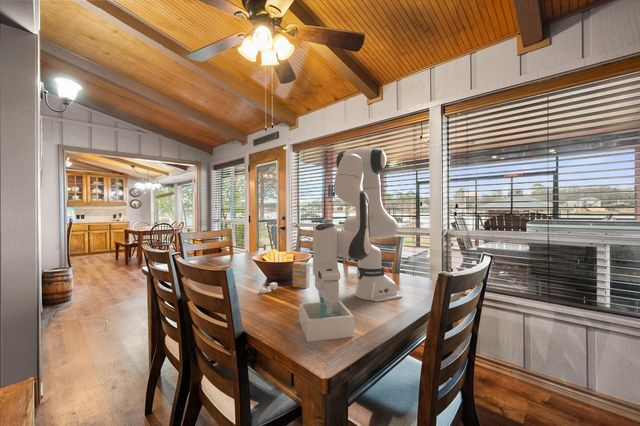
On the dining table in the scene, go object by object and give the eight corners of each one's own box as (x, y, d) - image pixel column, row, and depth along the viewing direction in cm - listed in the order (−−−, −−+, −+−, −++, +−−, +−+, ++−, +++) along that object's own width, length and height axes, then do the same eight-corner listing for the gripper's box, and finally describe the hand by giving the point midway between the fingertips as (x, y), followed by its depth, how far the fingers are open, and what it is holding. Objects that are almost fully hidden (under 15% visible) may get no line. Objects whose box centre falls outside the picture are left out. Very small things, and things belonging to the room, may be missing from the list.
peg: (329, 326, 106) (329, 301, 105) (332, 330, 102) (331, 305, 101) (318, 327, 105) (318, 302, 104) (320, 331, 101) (320, 306, 100)
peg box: (340, 318, 113) (340, 300, 112) (354, 336, 97) (354, 316, 97) (299, 322, 109) (299, 303, 109) (307, 341, 93) (307, 320, 93)
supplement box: (292, 287, 154) (292, 263, 153) (296, 284, 158) (295, 261, 158) (306, 288, 151) (306, 264, 150) (310, 286, 155) (309, 262, 155)
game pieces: (272, 288, 154) (272, 282, 154) (277, 288, 152) (277, 282, 152) (258, 294, 143) (258, 287, 143) (263, 295, 142) (263, 288, 142)
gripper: (310, 263, 112) (311, 298, 112) (323, 277, 92) (323, 319, 93) (326, 262, 113) (326, 297, 114) (342, 276, 93) (342, 317, 94)
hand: (325, 307), depth 103 cm, fingers open, 8 cm apart
